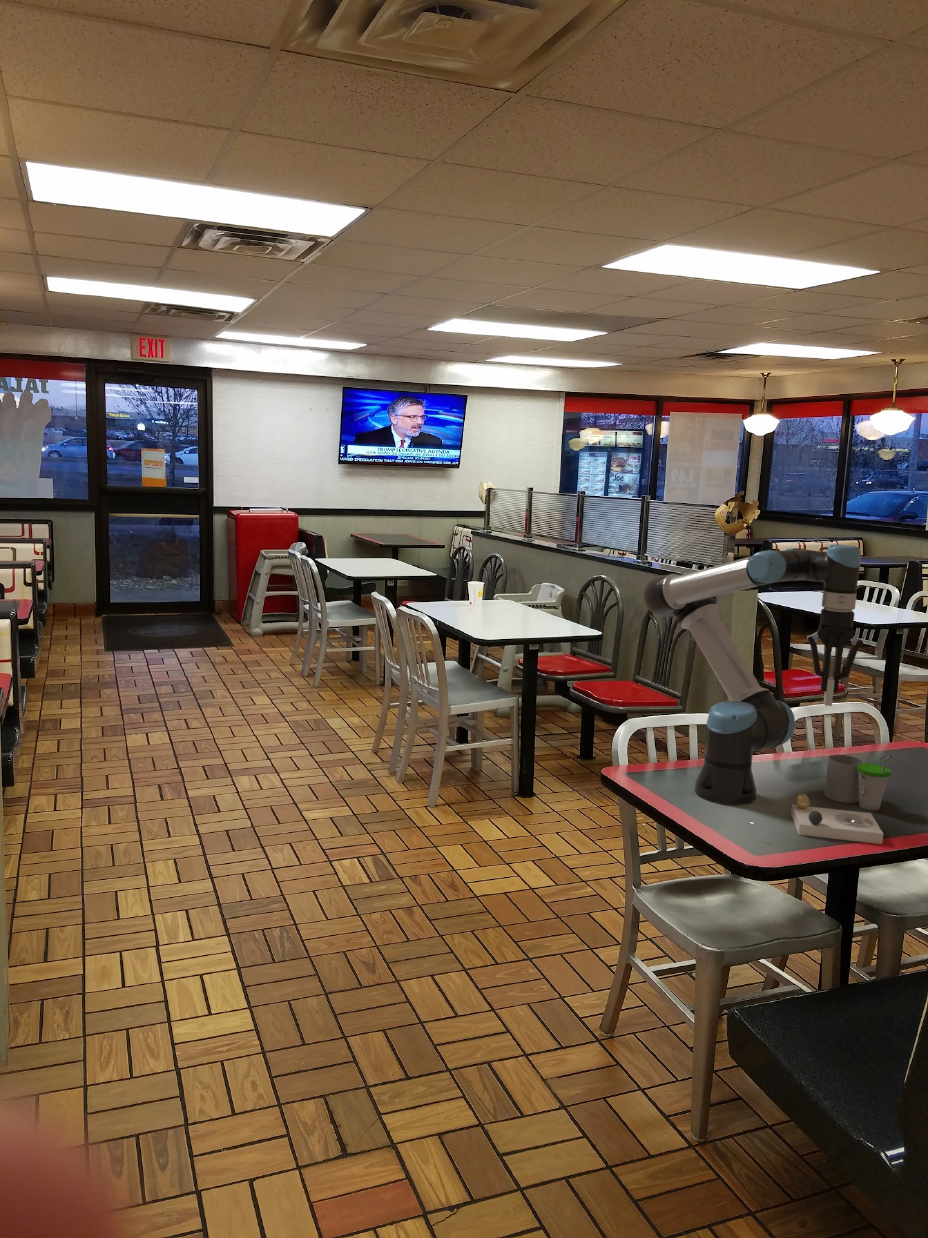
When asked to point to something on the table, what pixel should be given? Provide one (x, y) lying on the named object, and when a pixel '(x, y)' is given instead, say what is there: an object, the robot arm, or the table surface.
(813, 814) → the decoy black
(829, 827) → the plate
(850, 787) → the cup
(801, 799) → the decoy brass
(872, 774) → the cup
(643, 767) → the table surface
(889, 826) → the table surface
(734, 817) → the table surface
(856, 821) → the steel ball
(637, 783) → the table surface
